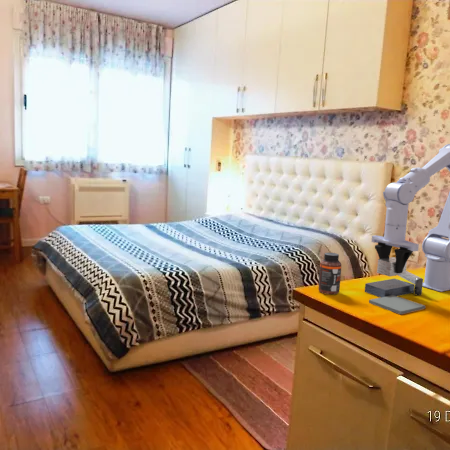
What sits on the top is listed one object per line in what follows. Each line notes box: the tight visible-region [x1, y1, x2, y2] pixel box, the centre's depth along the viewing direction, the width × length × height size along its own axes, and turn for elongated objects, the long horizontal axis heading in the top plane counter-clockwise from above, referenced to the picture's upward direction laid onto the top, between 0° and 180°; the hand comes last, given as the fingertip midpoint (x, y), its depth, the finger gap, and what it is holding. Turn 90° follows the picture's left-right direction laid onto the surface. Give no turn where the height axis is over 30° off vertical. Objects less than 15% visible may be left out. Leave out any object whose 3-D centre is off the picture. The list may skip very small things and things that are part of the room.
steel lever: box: [397, 270, 424, 296], centre depth 136 cm, size 2×18×5 cm, turn 7°
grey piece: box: [364, 278, 415, 298], centre depth 130 cm, size 13×7×2 cm, turn 122°
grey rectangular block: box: [376, 256, 408, 277], centre depth 129 cm, size 7×4×4 cm, turn 122°
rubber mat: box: [368, 295, 426, 315], centre depth 118 cm, size 10×10×1 cm
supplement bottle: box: [318, 252, 342, 295], centre depth 127 cm, size 6×6×11 cm
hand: (391, 270), depth 129 cm, fingers closed on grey rectangular block, 4 cm apart
